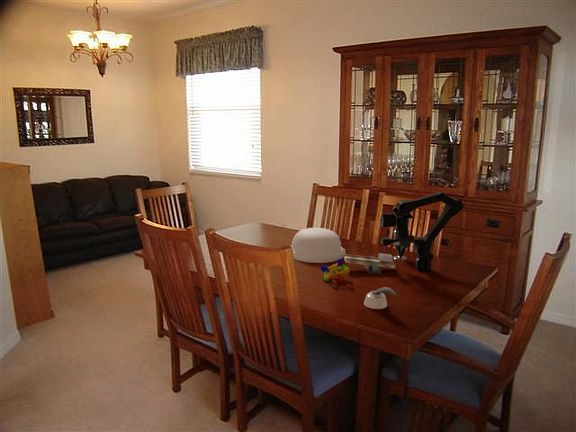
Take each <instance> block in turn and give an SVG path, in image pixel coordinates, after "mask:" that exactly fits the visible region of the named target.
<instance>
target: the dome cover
mask: <svg viewBox="0 0 576 432" xmlns="http://www.w3.org/2000/svg"><path fill="white" fill-rule="evenodd" d="M290 246H291V247H292V250H293V256H294V259H293V260H295V261H298V262H299V261H300V262H303V263H314V264H315V263H316V264H319V263H320V264H322V263H330V262H331V263H333V262H337V259H341V260H342V259H344V254H347V253H346V249H345V248H343V247H342V243H341V239H340V237H339V235H338V234H337V233H336V232H335V231H334V230H331V229H328V228H325V227H308V228H303V229H301V230H299V231H297V232H296V234H295V235H294V236H293V239H292V242H291V245H290Z"/></svg>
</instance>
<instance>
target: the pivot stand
mask: <svg viewBox="0 0 576 432" xmlns="http://www.w3.org/2000/svg"><path fill="white" fill-rule="evenodd" d="M368 257H375V256H374V255H369V256H368ZM364 267H365V269H366V271H367V273H368V274H369V275H370V274H371V275H377V274H378V275H379V274H382V270H381V268H380V267H379V266H378V262H372V266H370V265H364Z"/></svg>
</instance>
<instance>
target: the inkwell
mask: <svg viewBox="0 0 576 432" xmlns="http://www.w3.org/2000/svg"><path fill="white" fill-rule="evenodd" d="M385 293H386V294H390V295H393V296H395V297H397V298H398V297H399V296H398V294H397V293H396V292H395V291H394V289H392V288H390V287H387V286H384V287H380V288H378V289H377V290H372V291H370V292H368V293H366V296H365V299H364V302H363V305H364V306H365V307H366V308H369V309H372V310H373V309H374V310H383V309H385V308H386V307H388V301H387V297H386V295H385Z"/></svg>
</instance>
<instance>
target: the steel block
mask: <svg viewBox="0 0 576 432" xmlns="http://www.w3.org/2000/svg"><path fill="white" fill-rule="evenodd" d="M393 257H394V256H392V254H390V253H382V252H379V253H378V257H377V258H378V261H379V262H387V263H392V261H393V262H394V258H393Z"/></svg>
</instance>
